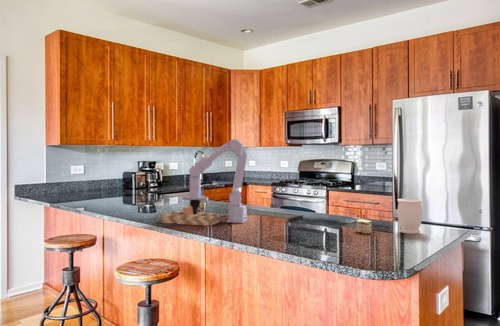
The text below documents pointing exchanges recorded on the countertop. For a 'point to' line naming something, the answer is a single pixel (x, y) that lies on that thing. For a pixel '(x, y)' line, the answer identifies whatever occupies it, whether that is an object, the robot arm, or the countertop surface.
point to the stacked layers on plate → (363, 226)
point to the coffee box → (201, 203)
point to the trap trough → (190, 218)
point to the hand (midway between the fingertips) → (195, 214)
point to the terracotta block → (189, 211)
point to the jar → (409, 215)
